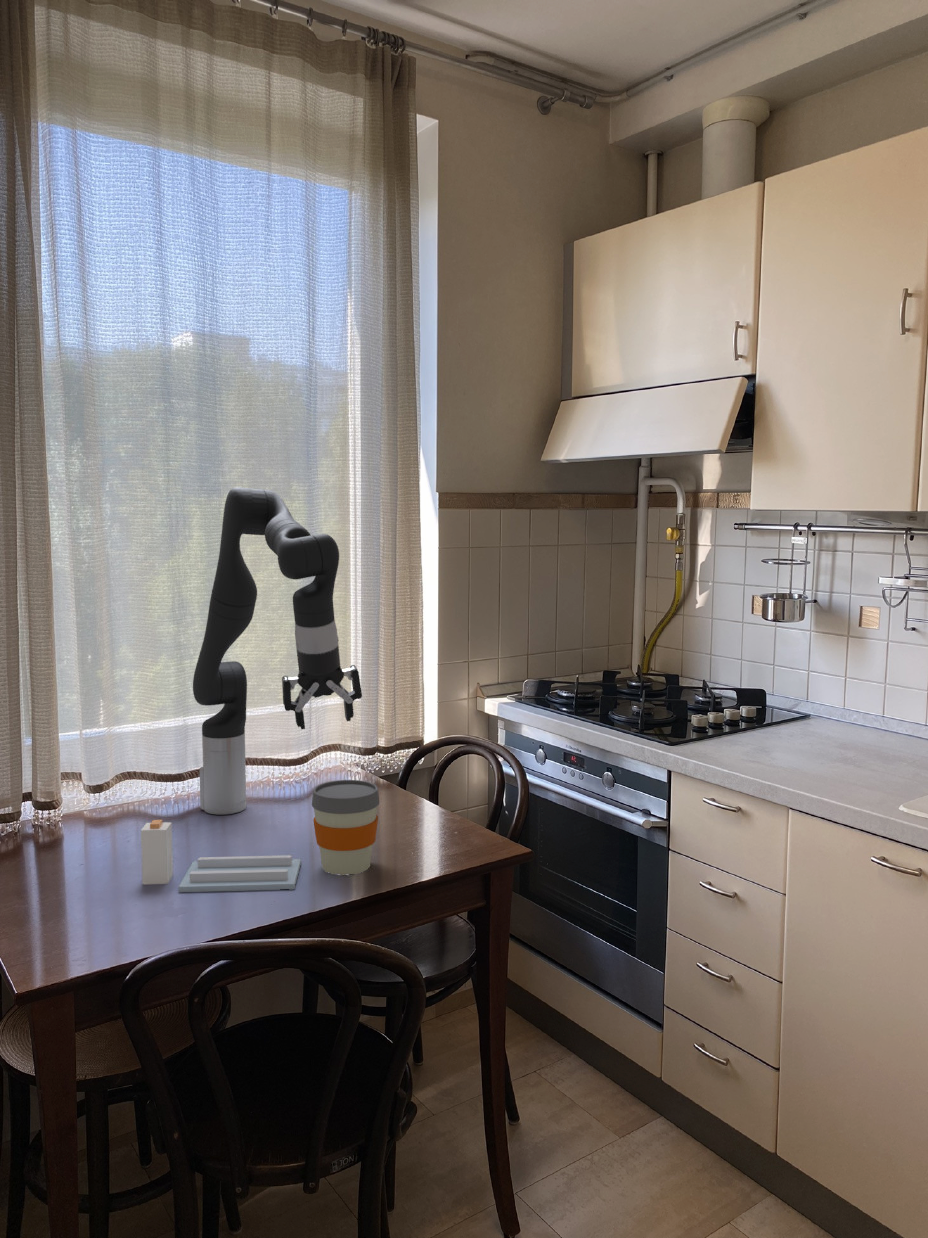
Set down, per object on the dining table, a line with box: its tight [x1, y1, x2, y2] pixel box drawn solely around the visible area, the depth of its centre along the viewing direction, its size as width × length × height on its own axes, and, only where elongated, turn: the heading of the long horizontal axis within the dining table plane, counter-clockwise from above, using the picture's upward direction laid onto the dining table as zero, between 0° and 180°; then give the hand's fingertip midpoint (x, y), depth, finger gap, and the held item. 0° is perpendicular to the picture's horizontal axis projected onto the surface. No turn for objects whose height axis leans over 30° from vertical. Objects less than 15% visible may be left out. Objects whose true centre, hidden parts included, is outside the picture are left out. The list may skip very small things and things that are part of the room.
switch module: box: [140, 819, 174, 885], centre depth 166 cm, size 4×4×11 cm
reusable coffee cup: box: [311, 779, 380, 876], centre depth 172 cm, size 12×13×15 cm
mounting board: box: [178, 854, 302, 893], centre depth 167 cm, size 20×12×2 cm, turn 95°
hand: (325, 723), depth 171 cm, fingers open, 8 cm apart
